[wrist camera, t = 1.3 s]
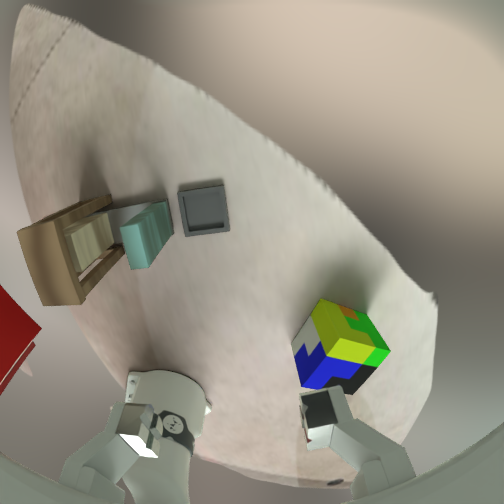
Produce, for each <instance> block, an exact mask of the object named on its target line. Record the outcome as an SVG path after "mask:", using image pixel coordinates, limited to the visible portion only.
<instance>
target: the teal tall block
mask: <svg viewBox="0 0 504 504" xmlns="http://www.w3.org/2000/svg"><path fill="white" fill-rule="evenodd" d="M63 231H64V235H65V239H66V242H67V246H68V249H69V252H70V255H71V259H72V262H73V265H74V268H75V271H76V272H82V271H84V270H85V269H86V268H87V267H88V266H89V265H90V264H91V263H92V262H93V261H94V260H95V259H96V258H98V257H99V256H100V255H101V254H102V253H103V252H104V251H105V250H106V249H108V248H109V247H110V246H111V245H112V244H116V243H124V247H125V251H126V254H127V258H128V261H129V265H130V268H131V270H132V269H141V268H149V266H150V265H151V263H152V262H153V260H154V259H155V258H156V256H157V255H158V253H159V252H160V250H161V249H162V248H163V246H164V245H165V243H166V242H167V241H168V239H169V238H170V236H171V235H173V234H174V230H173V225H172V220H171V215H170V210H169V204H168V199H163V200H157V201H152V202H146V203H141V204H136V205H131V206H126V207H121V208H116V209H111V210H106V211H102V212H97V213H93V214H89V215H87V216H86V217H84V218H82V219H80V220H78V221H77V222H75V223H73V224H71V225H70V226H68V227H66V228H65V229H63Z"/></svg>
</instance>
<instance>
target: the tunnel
mask: <svg viewBox="0 0 504 504" xmlns="http://www.w3.org/2000/svg"><path fill="white" fill-rule="evenodd" d="M110 203H112V197H111V194H109V195H105V196H101V197H97V198H93V199H89V200H85V201H81V202H78V203H76V204H73V205H71V206H69V207H67V208H65V209H63V210H60V211H58V212H56V213H54V214H52V215H50V216H48V217H46V218H44V219H42V220H40V221H38V222H36V223H34V224H32V225H30V226H28V227H25V228H22V229H20V230H19V231H17V234H18V238H19V241H20V245H21V248H22V251H23V254H24V258H25V260H26V263H27V266H28V269H29V271H30V275H31V277H32V280H33V282H34V285H35V288H36V290H37V292H38V295H39V297H40V300H41V302H42V304H43V306H61V305H81V304H82V303H83V302H84V301H85V300H86V298H85V297H86V296H87V295H88V293H89V292H90V291H91V290H92V289H93V288H94V287H95V285H96V284H97V283H98V282H99V281H100V280H101V279H102V278H103V276H104V275H105V274H106V273H107V272H108V271H109V270H110V269H111V268H112V267H113V265H114V264H115V263H116V262H117V261H118V260H119V259H120V258H121V257H122V256H123V255H124V254H125V252H124V248H123V246H118V247H111V248H108V249H106V250H105V251H104V252H103V253H102V254H101V255H100V256H99V257H98V258H96V259H95V260H97V259H103V260H102V261H100V262H99V263H98V264H97V265H96V266H95V267H94V268H93V269H92V270H91V271H90V272H89V273H88V274H87V275H86V276H85V277H84V278H83V279H82V280H81V281H80V282H79V279H78V277H79V276H80V275H81V274H82V273H83V272H84V271H85V270H86V269H87V268H88V267H89V266H90V265H91V264H92V263H93V262H94V261H95V260H94V261H93V262H92V263H91V264H90V265H89V266H88V267H87V268H86V269H85V270H84V271H82V272H76V271H75V268H74V265H73V262H72V259H71V255H70V252H69V249H68V246H67V242H66V239H65V235H64V231H63V229H65V228H66V227H68V226H70V225H71V224H73V223H75V222H77V221H78V220H80V219H82V218H84V217H86V216H87V215H89V214H91V213H93V212H95V211H97V210H99V209H100V208H102V207H104V206H106V205H108V204H110Z"/></svg>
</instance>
